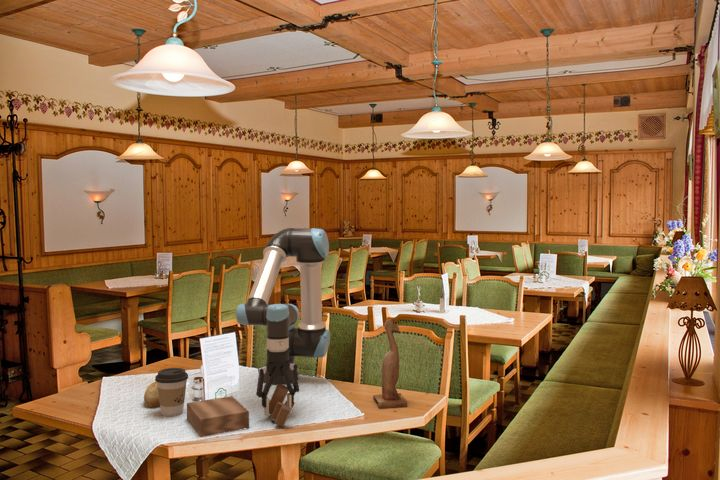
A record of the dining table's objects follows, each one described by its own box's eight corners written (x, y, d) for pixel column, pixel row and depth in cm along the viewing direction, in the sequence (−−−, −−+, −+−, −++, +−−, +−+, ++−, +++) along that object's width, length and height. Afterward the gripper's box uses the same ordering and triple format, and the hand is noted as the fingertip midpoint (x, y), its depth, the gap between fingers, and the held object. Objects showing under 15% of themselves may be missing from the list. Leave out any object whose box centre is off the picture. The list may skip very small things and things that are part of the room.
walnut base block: (232, 412, 213) (232, 396, 212) (249, 429, 197) (249, 411, 197) (186, 420, 205) (186, 403, 204) (200, 438, 189) (200, 419, 189)
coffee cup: (175, 420, 203) (174, 377, 202) (148, 416, 207) (147, 373, 206) (195, 409, 214) (195, 368, 213) (169, 405, 218) (168, 365, 217)
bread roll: (179, 396, 229) (179, 375, 229) (165, 409, 214) (164, 387, 214) (155, 395, 230) (155, 375, 229) (139, 408, 215) (138, 387, 214)
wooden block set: (286, 433, 197) (298, 406, 196) (262, 424, 196) (274, 396, 195) (289, 412, 215) (301, 386, 214) (267, 403, 214) (278, 377, 213)
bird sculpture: (409, 407, 219) (412, 321, 218) (378, 409, 216) (382, 322, 215) (399, 398, 230) (402, 316, 229) (370, 399, 227) (373, 316, 226)
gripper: (252, 355, 197) (252, 422, 199) (309, 348, 206) (309, 413, 208) (245, 350, 204) (246, 415, 205) (301, 344, 213) (301, 406, 214)
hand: (277, 414), depth 206 cm, fingers closed on wooden block set, 7 cm apart
